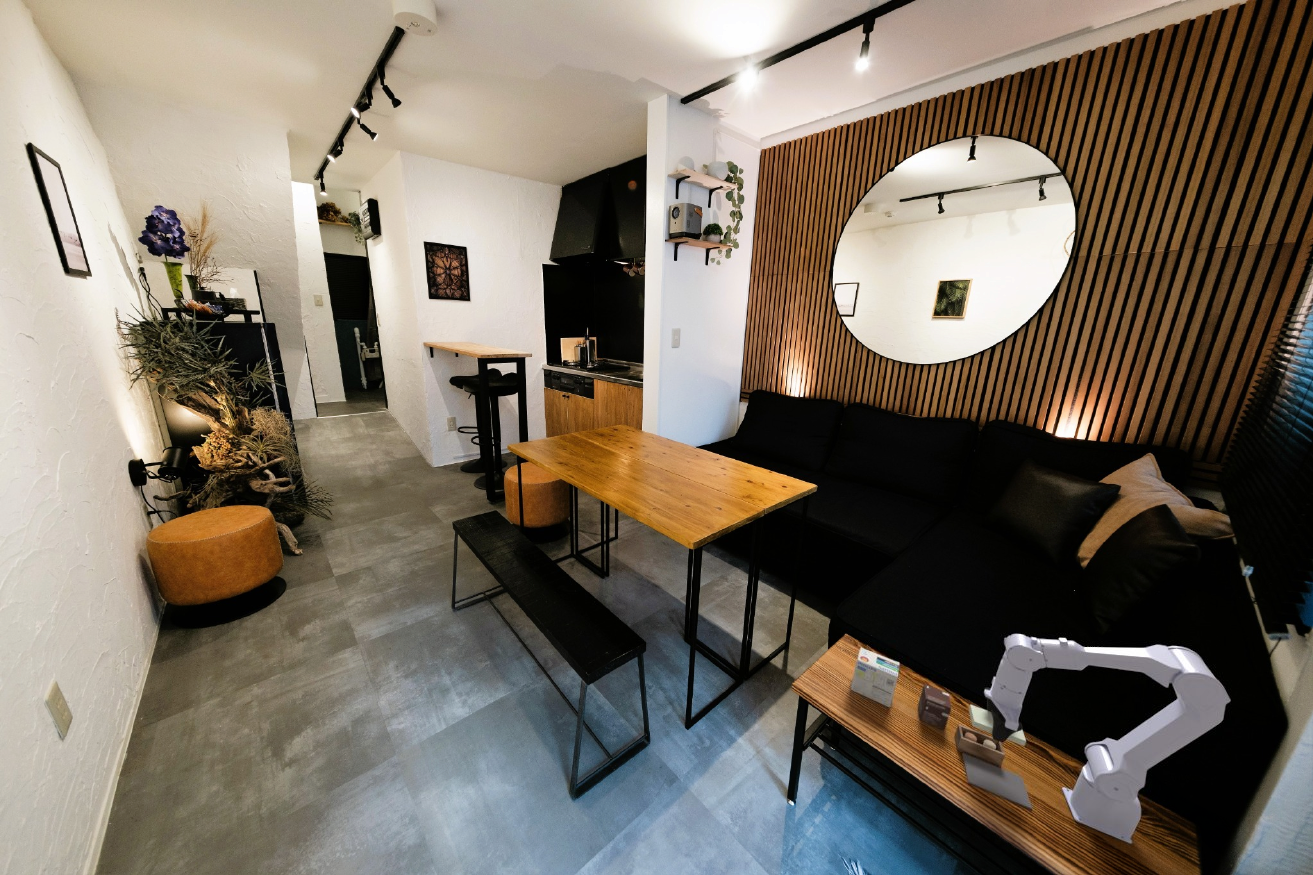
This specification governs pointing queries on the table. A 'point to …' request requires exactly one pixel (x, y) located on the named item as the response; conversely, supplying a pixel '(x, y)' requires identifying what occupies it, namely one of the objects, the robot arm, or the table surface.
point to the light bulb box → (875, 677)
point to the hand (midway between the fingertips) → (994, 729)
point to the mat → (996, 780)
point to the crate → (979, 745)
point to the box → (934, 706)
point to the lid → (991, 724)
